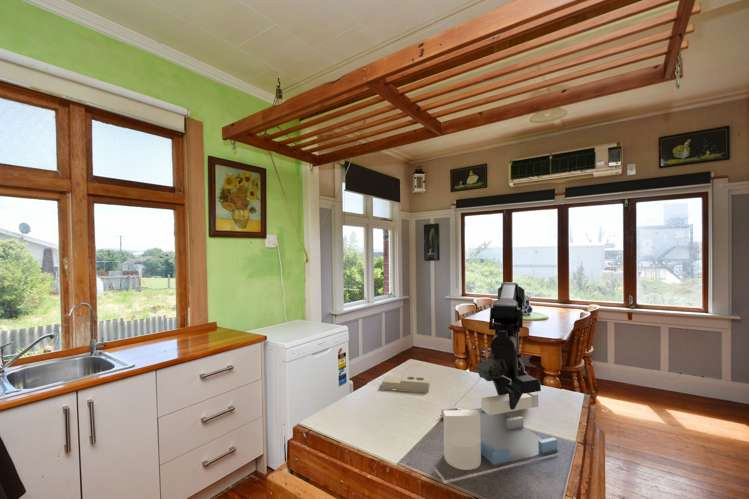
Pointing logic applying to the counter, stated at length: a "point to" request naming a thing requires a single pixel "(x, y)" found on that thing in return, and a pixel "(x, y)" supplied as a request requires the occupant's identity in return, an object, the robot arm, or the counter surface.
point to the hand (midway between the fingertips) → (507, 406)
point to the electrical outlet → (407, 383)
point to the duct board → (508, 438)
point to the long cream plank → (502, 403)
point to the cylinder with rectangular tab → (462, 438)
